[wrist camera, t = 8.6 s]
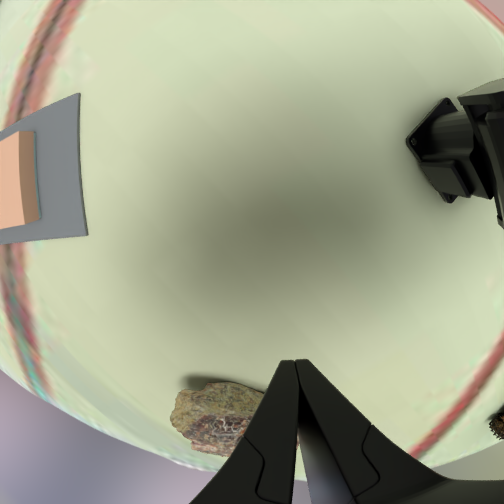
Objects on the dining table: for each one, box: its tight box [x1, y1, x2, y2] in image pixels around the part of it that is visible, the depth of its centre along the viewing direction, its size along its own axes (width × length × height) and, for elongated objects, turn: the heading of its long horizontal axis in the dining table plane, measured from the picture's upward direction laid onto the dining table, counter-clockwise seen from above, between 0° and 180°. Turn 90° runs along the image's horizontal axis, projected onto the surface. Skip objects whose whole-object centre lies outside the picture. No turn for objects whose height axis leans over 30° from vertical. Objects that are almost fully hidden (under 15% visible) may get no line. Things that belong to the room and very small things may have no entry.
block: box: [0, 131, 41, 229], centre depth 16 cm, size 2×8×10 cm
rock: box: [170, 382, 299, 457], centre depth 21 cm, size 7×11×10 cm
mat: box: [0, 93, 88, 245], centre depth 18 cm, size 20×12×1 cm, turn 93°
